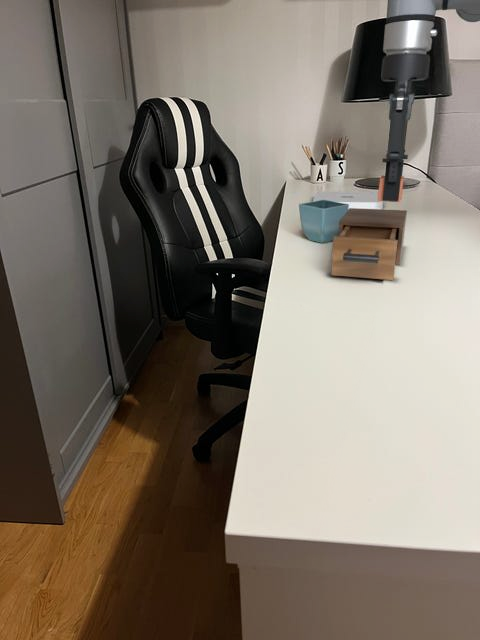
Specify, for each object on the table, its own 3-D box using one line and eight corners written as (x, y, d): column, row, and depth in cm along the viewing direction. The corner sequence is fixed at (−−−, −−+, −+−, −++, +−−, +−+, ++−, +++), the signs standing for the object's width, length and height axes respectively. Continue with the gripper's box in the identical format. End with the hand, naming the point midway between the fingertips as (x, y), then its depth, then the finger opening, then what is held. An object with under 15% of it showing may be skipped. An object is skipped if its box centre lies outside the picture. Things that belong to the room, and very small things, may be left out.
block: (401, 198, 93) (404, 176, 91) (400, 202, 89) (403, 179, 88) (379, 197, 94) (381, 175, 92) (377, 200, 91) (379, 178, 89)
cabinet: (399, 268, 101) (404, 224, 98) (336, 264, 105) (339, 221, 102) (402, 250, 114) (406, 210, 110) (346, 246, 118) (349, 208, 114)
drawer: (391, 289, 87) (395, 248, 85) (326, 283, 91) (328, 244, 88) (397, 260, 104) (401, 225, 101) (342, 256, 107) (344, 222, 104)
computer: (312, 210, 159) (312, 201, 158) (315, 198, 179) (315, 191, 178) (383, 211, 156) (384, 202, 155) (378, 199, 176) (379, 191, 175)
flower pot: (322, 246, 118) (323, 208, 115) (296, 239, 125) (297, 203, 121) (347, 240, 123) (350, 204, 119) (322, 234, 130) (323, 199, 126)
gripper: (431, 48, 74) (411, 207, 83) (430, 57, 89) (413, 191, 98) (378, 50, 76) (365, 205, 85) (386, 58, 91) (374, 190, 100)
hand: (391, 197), depth 91 cm, fingers closed on block, 4 cm apart
